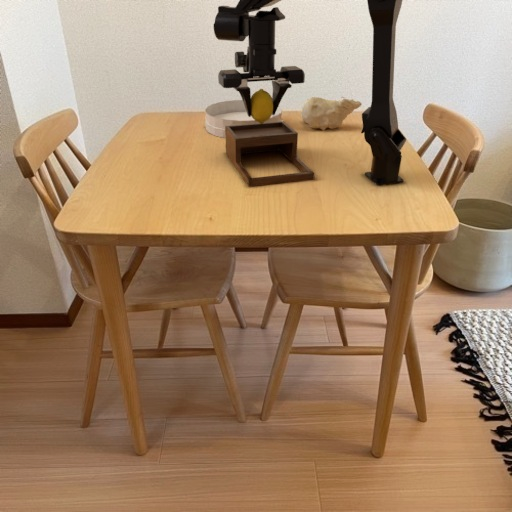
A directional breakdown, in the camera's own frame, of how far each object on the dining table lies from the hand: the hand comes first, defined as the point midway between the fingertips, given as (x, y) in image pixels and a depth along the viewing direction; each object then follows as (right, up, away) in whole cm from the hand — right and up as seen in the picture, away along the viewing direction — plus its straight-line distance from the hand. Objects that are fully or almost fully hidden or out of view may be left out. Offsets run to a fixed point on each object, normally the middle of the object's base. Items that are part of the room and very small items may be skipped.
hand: (261, 115), depth 111 cm
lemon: (0, -2, +1) cm, 2 cm away
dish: (-5, +4, +27) cm, 27 cm away
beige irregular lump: (+20, +5, +27) cm, 34 cm away
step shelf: (+1, -11, +1) cm, 11 cm away
